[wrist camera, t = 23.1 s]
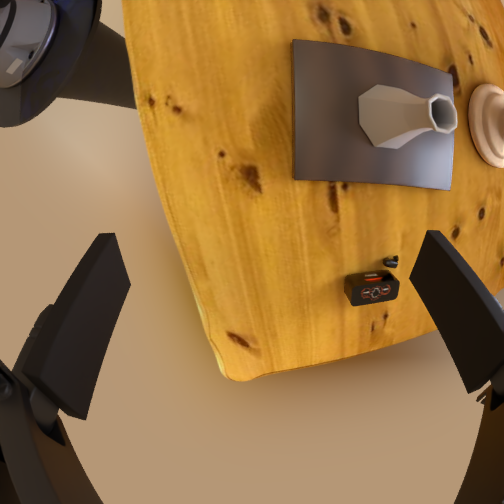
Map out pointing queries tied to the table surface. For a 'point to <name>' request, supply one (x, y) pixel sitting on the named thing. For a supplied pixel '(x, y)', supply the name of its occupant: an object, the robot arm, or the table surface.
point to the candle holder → (488, 123)
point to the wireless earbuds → (372, 285)
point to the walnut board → (347, 118)
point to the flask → (403, 115)
